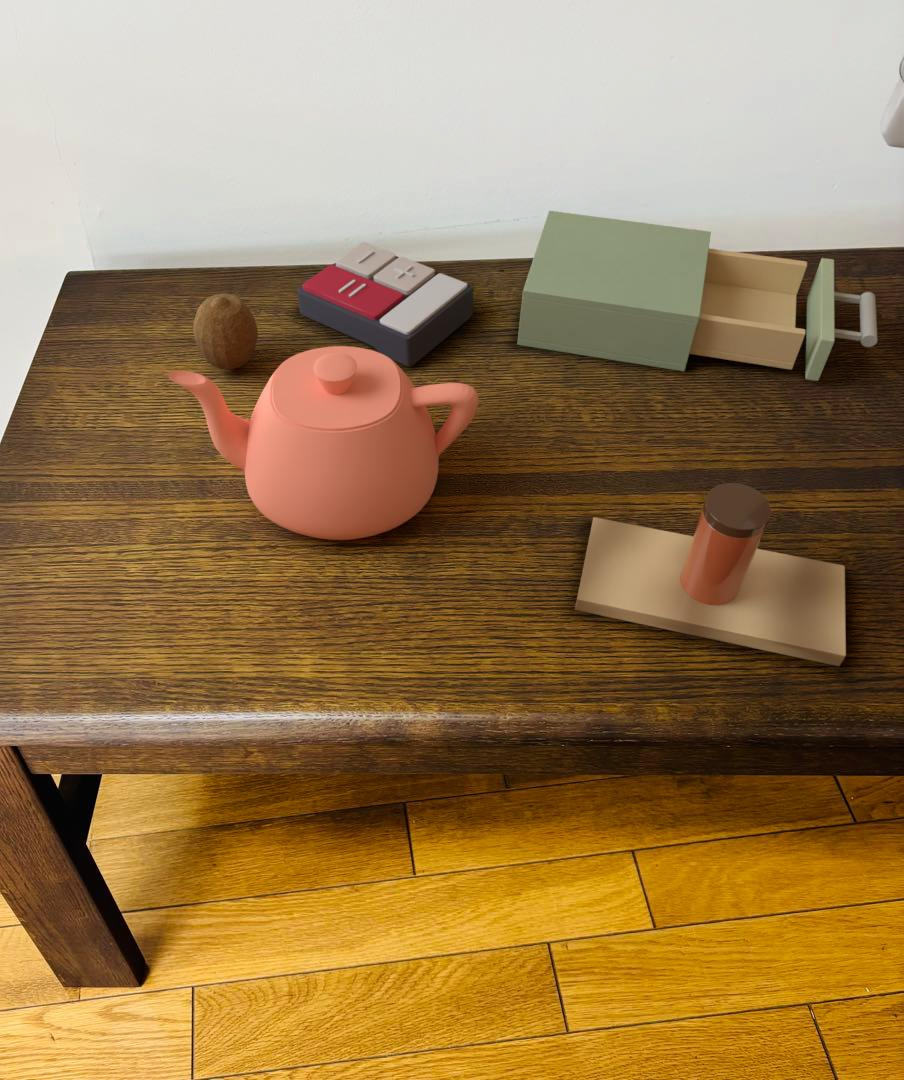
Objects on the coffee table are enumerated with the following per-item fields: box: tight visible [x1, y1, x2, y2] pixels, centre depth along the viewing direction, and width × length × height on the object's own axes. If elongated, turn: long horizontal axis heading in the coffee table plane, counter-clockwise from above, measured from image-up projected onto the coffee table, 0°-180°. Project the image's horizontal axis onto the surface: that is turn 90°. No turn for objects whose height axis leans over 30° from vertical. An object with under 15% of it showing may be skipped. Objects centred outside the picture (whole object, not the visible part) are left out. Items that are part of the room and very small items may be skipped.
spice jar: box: [680, 482, 772, 605], centre depth 76 cm, size 5×5×9 cm
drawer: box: [689, 248, 878, 382], centre depth 98 cm, size 20×13×5 cm
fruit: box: [192, 293, 259, 370], centre depth 98 cm, size 6×6×8 cm
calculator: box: [296, 241, 474, 368], centre depth 104 cm, size 11×4×15 cm
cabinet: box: [516, 210, 712, 372], centre depth 101 cm, size 17×15×7 cm
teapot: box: [167, 345, 480, 541], centre depth 84 cm, size 25×17×13 cm
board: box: [574, 516, 847, 667], centre depth 80 cm, size 20×9×2 cm, turn 73°
